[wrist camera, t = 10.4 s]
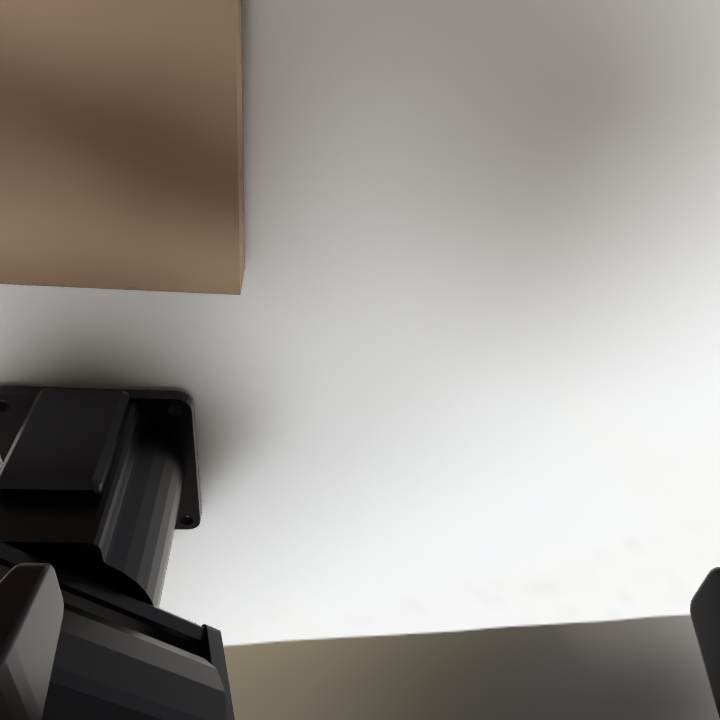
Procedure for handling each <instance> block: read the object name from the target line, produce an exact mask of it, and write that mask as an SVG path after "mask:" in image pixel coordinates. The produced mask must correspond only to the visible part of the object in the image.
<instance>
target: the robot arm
mask: <svg viewBox="0 0 720 720" xmlns="http://www.w3.org/2000/svg"><path fill="white" fill-rule="evenodd" d="M0 400H4V401H5V402H7V403H8V404H6V403H2V402H1V401H0V455H1V458H2V461H3V464H2V466H1V468H0V720H234V713H233V707H232V701H231V694H230V687H229V681H228V675H227V668H226V662H225V656H224V649H223V643H222V637H221V632H220V630H217V629H215V628H213V627H210V626H208V625H205V624H204V625H202V626H200V625H197V624H195V623H193V622H190V621H188V620H186V619H183V618H181V617H179V616H176V615H174V614H172V613H169V612H167V611H164V610H162V609H160V608H159V604H160V599H161V594H162V589H163V584H164V579H165V574H166V569H167V564H168V559H169V554H170V549H171V544H172V539H173V534H174V529H193V528H196V527H197V526H198V525H199V524H200V519H201V513H202V511H201V498H200V484H199V471H198V457H197V444H196V430H195V417H194V403H193V400H192V398H191V397H190V396H189V395H187V394H185V393H183V392H178V391H151V390H119V389H87V388H55V387H23V386H0ZM172 405H179V406H181V407H182V408H180V409H178V408H174V407H173V406H172ZM186 516H188V517H186ZM690 613H691V619H692V622H693V626H694V629H695V633H696V637H697V640H698V644H699V647H700V651H701V655H702V658H703V661H704V665H705V668H706V672H707V676H708V680H709V683H710V687H711V690H712V694H713V697H714V701H715V705H716V708H717V711H718V714H719V717H720V567H716V568H714V569H712V570H711V571H710V572H709V573H708V575H707V576H706V578H705V580H704V581H703V583H702V584H701V586H700V587H699V589H698V590H697V592H696V593H695V595H694V597H693V598H692V600H691V604H690Z"/></svg>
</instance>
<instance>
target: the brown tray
mask: <svg viewBox="0 0 720 720" xmlns="http://www.w3.org/2000/svg"><path fill="white" fill-rule="evenodd" d="M244 268H245V261H244V186H243V110H242V34H241V0H0V284H15V285H37V286H59V287H81V288H102V289H124V290H146V291H168V292H190V293H211V294H233V295H240V294H241V287H242V281H243V275H244Z"/></svg>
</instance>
